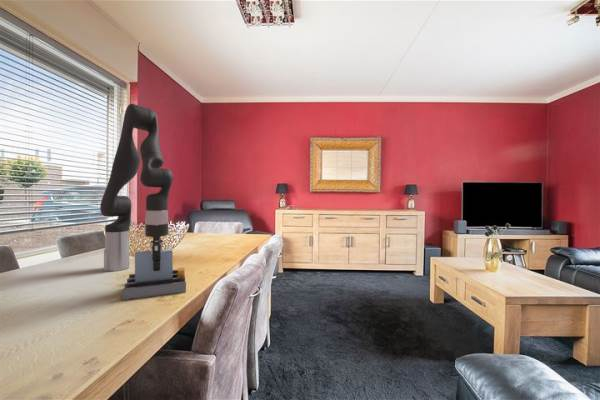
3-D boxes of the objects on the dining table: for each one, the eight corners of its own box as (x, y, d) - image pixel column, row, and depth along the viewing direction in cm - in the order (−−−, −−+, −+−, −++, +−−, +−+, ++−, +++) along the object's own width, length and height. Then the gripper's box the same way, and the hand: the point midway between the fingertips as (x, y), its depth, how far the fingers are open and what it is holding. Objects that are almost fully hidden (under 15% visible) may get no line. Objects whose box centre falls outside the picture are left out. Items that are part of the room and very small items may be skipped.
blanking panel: (135, 287, 96) (134, 253, 96) (136, 284, 99) (135, 251, 98) (172, 282, 101) (172, 250, 101) (172, 280, 104) (172, 249, 104)
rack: (122, 300, 88) (122, 282, 88) (129, 283, 104) (129, 267, 104) (185, 292, 96) (186, 275, 96) (183, 277, 113) (183, 263, 113)
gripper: (146, 221, 104) (146, 265, 105) (143, 225, 92) (143, 276, 92) (168, 220, 108) (168, 264, 108) (168, 224, 95) (168, 273, 96)
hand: (156, 269), depth 100 cm, fingers closed on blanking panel, 3 cm apart
